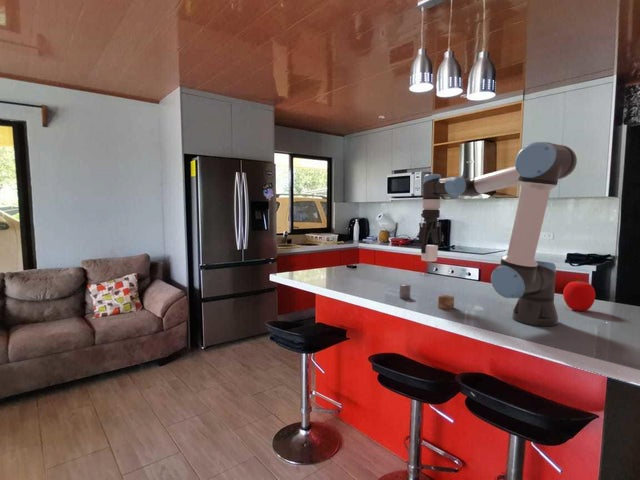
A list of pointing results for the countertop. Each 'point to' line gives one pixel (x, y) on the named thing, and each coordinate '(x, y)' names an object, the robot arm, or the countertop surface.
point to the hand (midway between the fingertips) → (429, 259)
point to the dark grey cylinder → (404, 291)
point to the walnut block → (446, 302)
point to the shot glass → (432, 252)
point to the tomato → (579, 295)
